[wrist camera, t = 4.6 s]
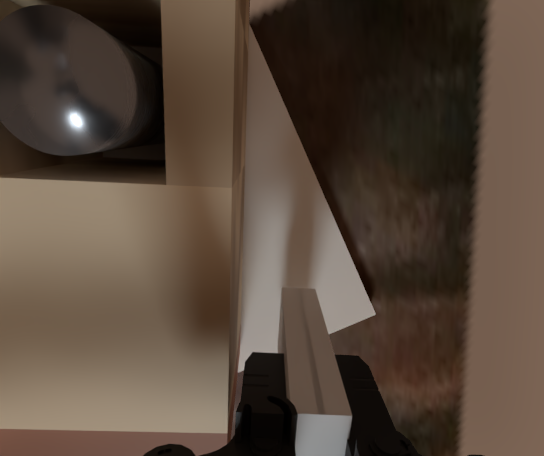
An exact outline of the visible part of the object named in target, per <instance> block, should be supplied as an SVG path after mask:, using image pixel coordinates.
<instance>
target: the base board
mask: <svg viewBox="0 0 544 456" xmlns="http://www.w3.org/2000/svg"><path fill="white" fill-rule="evenodd" d="M131 47H132V48H134V49H135V50H137V51H139V52H140V53H142V54H143V55H145V56H147V57H148V58H150V59H151V60H153V61H155V62H156V63H158V64H159V65H161V66H163V58H162V48H157V47H140V46H131ZM103 157H108V158H130V159H151V160H166V156H165V143H162V144H155V145H147V146H140V147H132V148H125V149H117V150H110V151H103ZM282 287H292V288H312V289H315V290H316V293H317V296H318V300H319V303H320V307H321V310H322V314H323V317H324V320H325V324H326V327H327V331H328V334H331V333H333V332H336V331H338V330H340V329H343V328H345V327H347V326H350V325H352V324H355V323H357V322H359V321H362V320H364V319H366V318H369V317H371V316H374V315H376V314H375V311H374V309H373V307H372V304H371V302H370V300H369V297H368V295H367V293H366V291H365V288H364V286H363V284H362V281H361V279H360V277H359V274H358V272H357V270H356V268H355V265H354V263H353V261H352V258H351V256H350V254H349V252H348V249H347V247H346V245H345V242H344V240H343V238H342V235H341V233H340V231H339V229H338V226H337V224H336V222H335V219H334V217H333V215H332V212H331V210H330V208H329V206H328V203H327V201H326V199H325V196H324V194H323V192H322V189H321V187H320V185H319V183H318V180H317V178H316V176H315V173H314V171H313V169H312V166H311V164H310V162H309V160H308V157H307V155H306V153H305V150H304V148H303V146H302V143H301V141H300V139H299V137H298V134H297V132H296V130H295V127H294V125H293V123H292V120H291V118H290V116H289V114H288V111H287V109H286V107H285V104H284V102H283V100H282V98H281V95H280V93H279V91H278V88H277V86H276V84H275V81H274V79H273V77H272V75H271V72H270V70H269V68H268V65H267V63H266V61H265V58H264V56H263V54H262V52H261V49H260V47H259V45H258V42H257V40H256V38H255V35H254V33H253V31H252V29H251V26H250V24H249V43H248V78H247V114H246V150H245V186H244V222H243V257H242V293H241V329H240V355H239V365H238V372H241V371H243V370H244V366H245V361H246V360H247V359H248V357H249V356H250V355H251V353H252V352H263V353H278V351H277V345H278V331H279V317H280V303H281V289H282Z"/></svg>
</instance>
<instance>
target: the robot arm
mask: <svg viewBox="0 0 544 456" xmlns="http://www.w3.org/2000/svg"><path fill="white" fill-rule="evenodd" d="M277 351H278V353H263V352H252V353H251V355H250V356H249V357H248V359H247V360H246V361H245V366H244V376H243V386H242V394H241V402H240V403H239V406H238V408H237V411H236V425H235V435H234V437H233V439H232V440H231V441H230V442H229V443H228V444H227V445H225V446H223V447H222V448H220V449H219V450H216V451H213V452H211V453H207V454H203V455H200V456H422V455H420V454H418V453H417V451H416V449H415V448H414V446H413V445H412V443H411V442H410V440H408V439H407V438H406V437H405V436H404V435H402V434H401V433H400V432H398V431H396V429H395V427H394V425H393V422H392V420H391V418H390V415H389V413H388V411H387V408H386V406H385V403H384V401H383V399H382V396H381V394H380V392H379V391H378V387H377V385H376V382H375V381H374V377H373V375H372V373H371V370H370V368H369V366H368V365H367V364H366V363H365V362H364V361H363V360H362V359H361V358H360V357H359V356H352V355H334V351H333V348H332V344H331V341H330V338H329V334H328V331H327V327H326V324H325V320H324V317H323V314H322V310H321V307H320V303H319V300H318V296H317V293H316V290H315V289H312V288H292V287H282V289H281V303H280V317H279V331H278V345H277ZM143 456H196V455H195V454H194V453H193V451H192V450H191V449H189V448H187V447H185V446H183V445H180V444H166V445H162V446H157V447H155V448H154V449H152V450H150V451H148V452H147V453H145V454H144V455H143ZM468 456H483V455H468Z"/></svg>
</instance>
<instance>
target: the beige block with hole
mask: <svg viewBox="0 0 544 456" xmlns="http://www.w3.org/2000/svg"><path fill="white" fill-rule="evenodd" d="M32 5H53V6H59V7H62V8H66V9H69V10H71V11H73V12H75V13H78V14H79V15H81V16H83V17H84V18H86V19H87V20H89V21H91V22H92V23H94V24H95V25H97V26H99V27H100V28H102V29H103V30H105V31H107V32H108V33H110V34H111V35H113V36H115V37H116V38H118V39H119V40H121V41H123V42H124V43H126V44H127V45H129V46H140V47H157V48H162V58H163V91H164V123H165V156H166V160H151V159H130V158H108V157H103V152H95V153H88V154H80V155H72V156H59V155H52V154H48V153H45V152H41V151H39V150H37V149H34V148H32V147H30V146H28V145H27V144H25V143H23V142H22V141H21V140H19V139H18V138H17V137H15V136H14V135H13V134H12V133H11V132H10V131H9V130H8V129H7V128H6V127H5V126H4V125H3V124H2V122H1V121H0V456H143V455H144V454H145V453H147V452H148V451H150V450H152V449H154V448H155V447H157V446H162V445H166V444H180V445H183V446H185V447H187V448H189V449H191V450H192V451H193V453H194V454H195V455H196V456H200V455H203V454H207V453H211V452H213V451H216V450H219V449H220V448H222V447H223V446H225V445H227V444H228V443H229V442H230V439H231V430H232V420H233V411H234V402H235V392H236V383H237V374H238V365H239V355H240V329H241V293H242V257H243V222H244V186H245V150H246V114H247V78H248V43H249V7H250V0H0V21H1V20H2V19H4V18H5V17H6V16H8V15H9V14H10V13H12V12H14V11H16V10H18V9H20V8H24V7H27V6H32Z"/></svg>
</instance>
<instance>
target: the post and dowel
mask: <svg viewBox="0 0 544 456" xmlns="http://www.w3.org/2000/svg"><path fill="white" fill-rule="evenodd" d="M0 121H1V122H2V124H3V125H4V126H5V127H6V128H7V129H8V130H9V131H10V132H11V133H12V134H13V135H14V136H15V137H17V138H18V139H19V140H21V141H22V142H23V143H25V144H27V145H28V146H30V147H32V148H34V149H37V150H39V151H41V152H45V153H48V154H52V155H59V156H72V155H80V154H88V153H95V152H103V151H110V150H117V149H125V148H132V147H140V146H147V145H155V144H162V143H165V123H164V91H163V66H161V65H159V64H158V63H156V62H155V61H153V60H151V59H150V58H148V57H147V56H145V55H143V54H142V53H140V52H139V51H137V50H135V49H134V48H132V47H131V46H129V45H127V44H126V43H124V42H123V41H121V40H119V39H118V38H116V37H115V36H113V35H111V34H110V33H108V32H107V31H105V30H103V29H102V28H100V27H99V26H97V25H95V24H94V23H92V22H91V21H89V20H87V19H86V18H84V17H83V16H81V15H79V14H78V13H75V12H73V11H71V10H69V9H66V8H62V7H59V6H53V5H32V6H27V7H24V8H20V9H18V10H16V11H14V12H12V13H10V14H9V15H8V16H6V17H5V18H4V19H2V20H1V21H0Z"/></svg>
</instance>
